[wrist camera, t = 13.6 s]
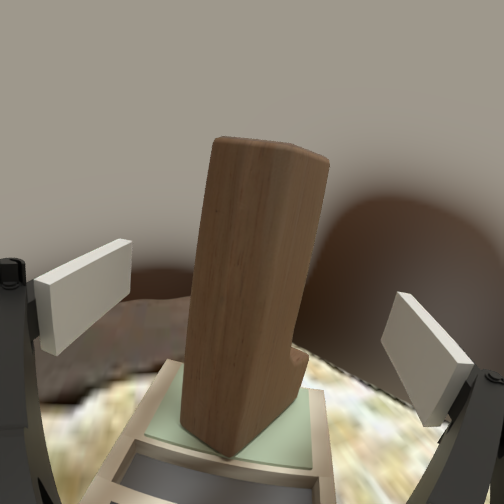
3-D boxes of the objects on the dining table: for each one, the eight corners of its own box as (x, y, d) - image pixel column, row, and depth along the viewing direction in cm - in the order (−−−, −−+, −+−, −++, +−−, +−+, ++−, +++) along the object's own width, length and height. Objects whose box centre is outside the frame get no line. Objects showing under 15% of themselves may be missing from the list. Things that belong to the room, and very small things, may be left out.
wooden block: (252, 375, 26) (296, 157, 22) (297, 398, 24) (357, 169, 20) (177, 425, 19) (210, 134, 15) (229, 462, 17) (295, 143, 12)
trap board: (38, 604, 4) (21, 595, 4) (166, 376, 28) (167, 356, 27) (325, 667, 3) (343, 666, 3) (317, 406, 27) (324, 387, 26)
